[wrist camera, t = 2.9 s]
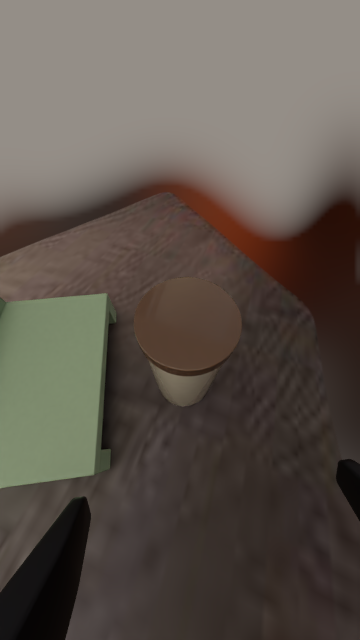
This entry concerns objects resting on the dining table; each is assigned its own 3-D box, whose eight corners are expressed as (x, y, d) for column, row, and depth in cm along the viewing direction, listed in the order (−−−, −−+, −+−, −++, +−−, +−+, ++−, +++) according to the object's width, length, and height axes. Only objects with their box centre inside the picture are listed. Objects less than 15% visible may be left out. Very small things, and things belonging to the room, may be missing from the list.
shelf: (110, 468, 18) (86, 478, 14) (-24, 487, 18) (-99, 503, 13) (116, 312, 26) (102, 284, 21) (24, 321, 26) (-11, 293, 21)
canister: (222, 380, 22) (264, 321, 11) (181, 421, 20) (183, 397, 9) (185, 342, 24) (190, 262, 13) (144, 376, 22) (112, 313, 12)
